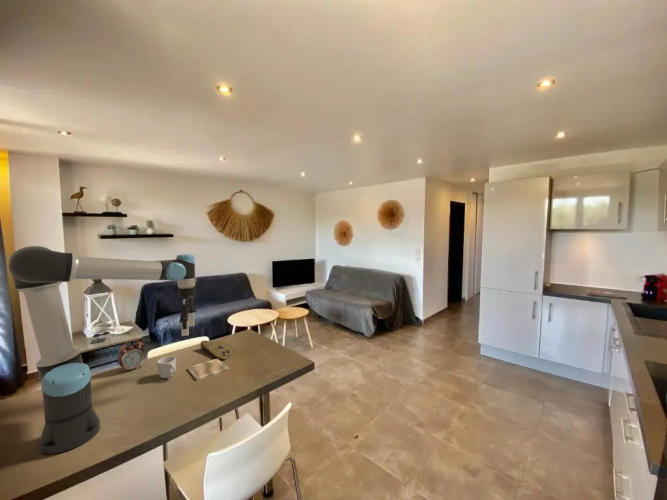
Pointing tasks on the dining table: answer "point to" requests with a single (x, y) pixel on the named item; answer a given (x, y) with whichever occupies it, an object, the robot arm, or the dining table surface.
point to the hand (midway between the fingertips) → (188, 330)
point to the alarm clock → (131, 355)
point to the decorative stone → (218, 348)
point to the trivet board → (207, 369)
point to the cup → (166, 366)
